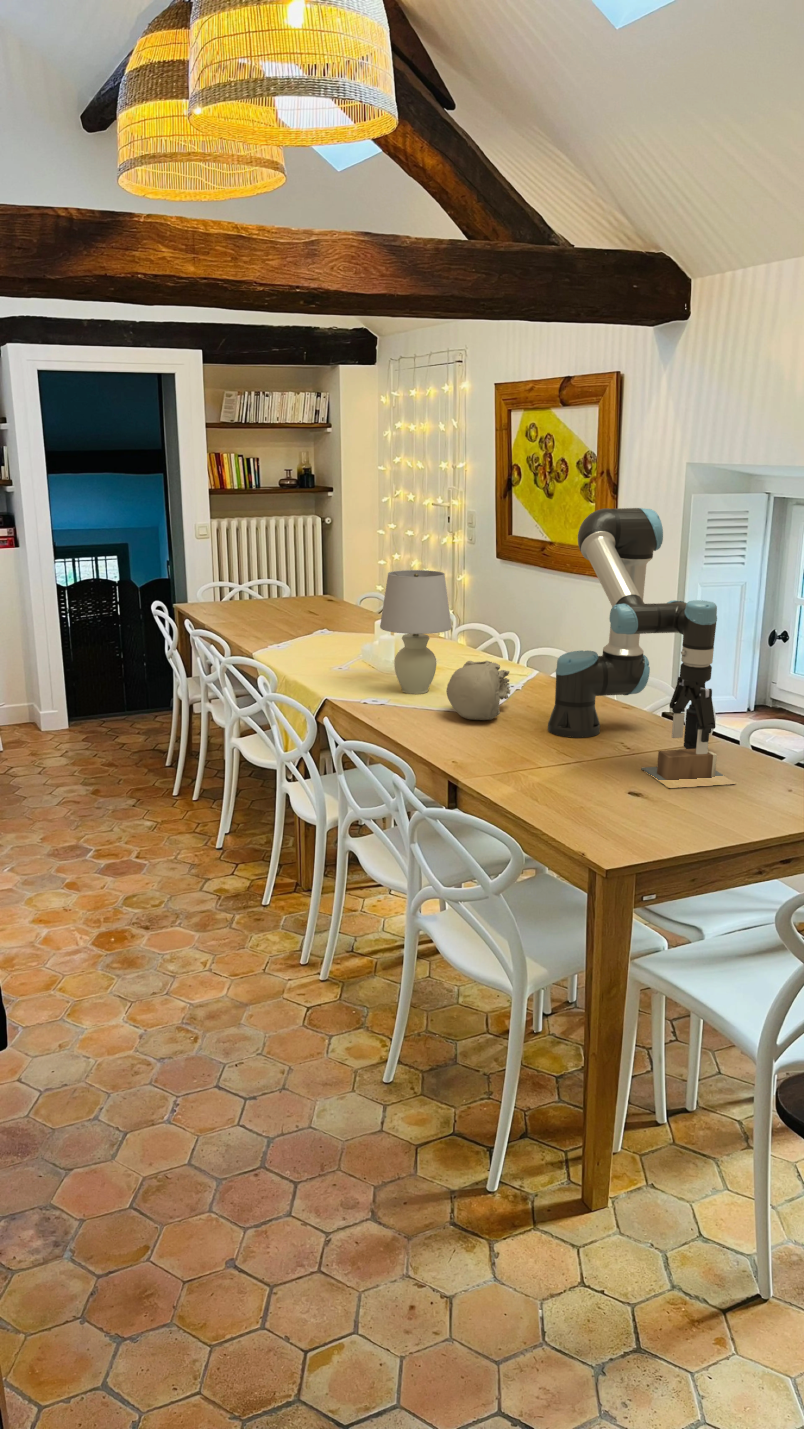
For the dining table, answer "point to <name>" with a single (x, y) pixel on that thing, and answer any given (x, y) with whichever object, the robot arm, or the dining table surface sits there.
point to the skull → (478, 690)
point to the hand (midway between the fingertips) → (689, 745)
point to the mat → (653, 772)
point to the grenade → (691, 728)
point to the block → (686, 764)
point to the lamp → (415, 623)
